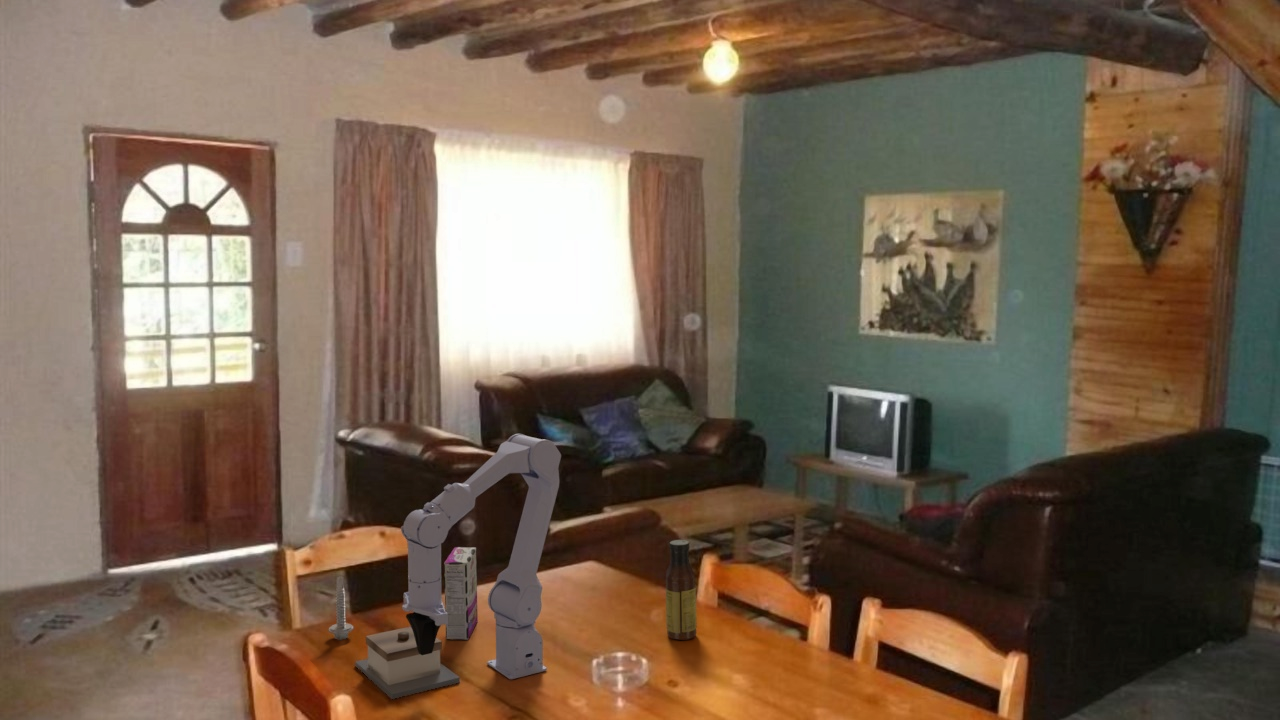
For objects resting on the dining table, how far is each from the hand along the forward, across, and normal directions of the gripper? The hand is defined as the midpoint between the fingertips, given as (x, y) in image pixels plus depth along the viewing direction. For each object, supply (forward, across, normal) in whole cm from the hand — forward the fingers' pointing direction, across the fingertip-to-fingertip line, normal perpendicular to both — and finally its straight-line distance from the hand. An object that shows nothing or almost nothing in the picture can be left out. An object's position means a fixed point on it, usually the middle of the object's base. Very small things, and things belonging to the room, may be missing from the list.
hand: (425, 653), depth 187 cm
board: (+8, -10, +1) cm, 13 cm away
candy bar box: (+8, -25, +19) cm, 32 cm away
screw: (+8, -35, -3) cm, 36 cm away
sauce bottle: (+8, +3, +55) cm, 56 cm away
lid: (+2, -10, 0) cm, 10 cm away
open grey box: (+8, -10, 0) cm, 13 cm away
